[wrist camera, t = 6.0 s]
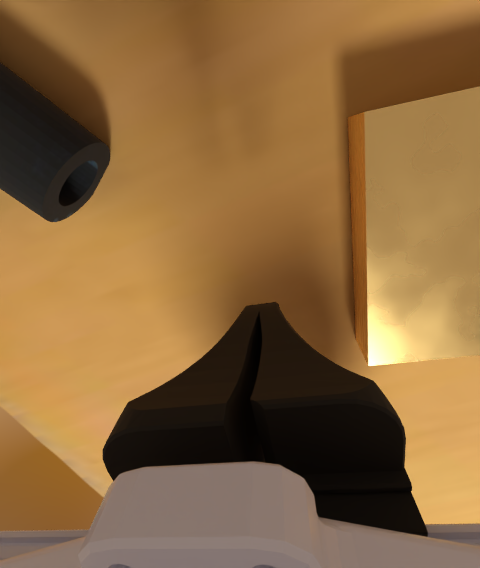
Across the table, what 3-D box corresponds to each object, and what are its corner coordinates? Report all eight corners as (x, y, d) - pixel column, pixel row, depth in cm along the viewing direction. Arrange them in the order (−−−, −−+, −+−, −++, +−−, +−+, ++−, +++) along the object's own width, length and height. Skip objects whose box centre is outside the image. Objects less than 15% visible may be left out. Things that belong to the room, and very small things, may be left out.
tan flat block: (492, 324, 19) (548, 367, 16) (355, 339, 21) (376, 382, 17) (541, 74, 14) (647, 47, 10) (347, 117, 15) (375, 108, 11)
